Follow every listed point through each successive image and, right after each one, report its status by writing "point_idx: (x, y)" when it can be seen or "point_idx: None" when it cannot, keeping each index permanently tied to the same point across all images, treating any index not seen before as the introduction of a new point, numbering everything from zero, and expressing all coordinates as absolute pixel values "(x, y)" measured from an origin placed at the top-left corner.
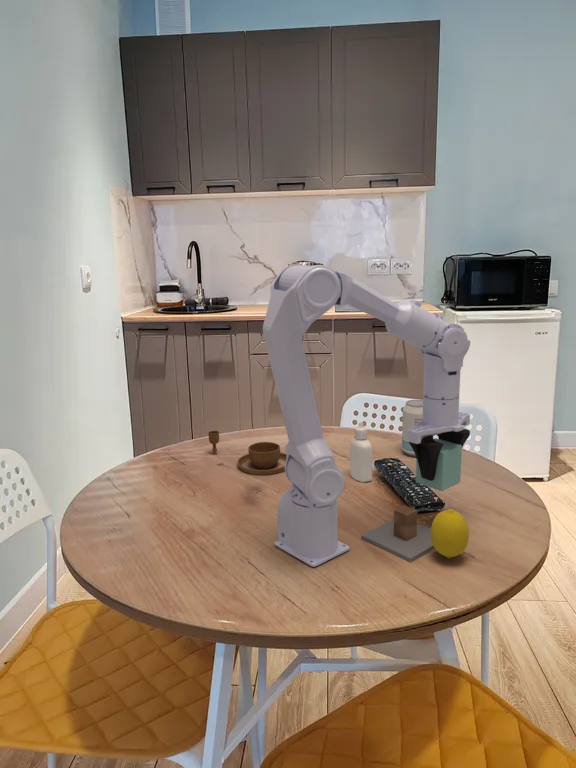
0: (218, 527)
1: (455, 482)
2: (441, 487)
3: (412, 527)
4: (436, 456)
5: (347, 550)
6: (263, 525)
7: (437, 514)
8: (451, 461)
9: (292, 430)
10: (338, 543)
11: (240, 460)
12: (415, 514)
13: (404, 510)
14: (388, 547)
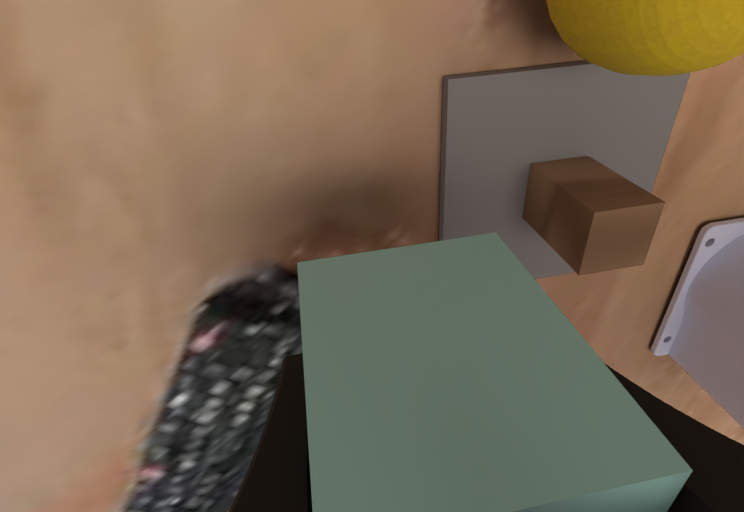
0: (727, 425)
1: (355, 263)
2: (507, 247)
3: (581, 177)
4: (691, 450)
5: (715, 222)
6: (678, 402)
7: (737, 55)
8: (470, 384)
9: None
10: (705, 259)
11: None
12: (596, 203)
13: (625, 240)
14: (659, 160)
